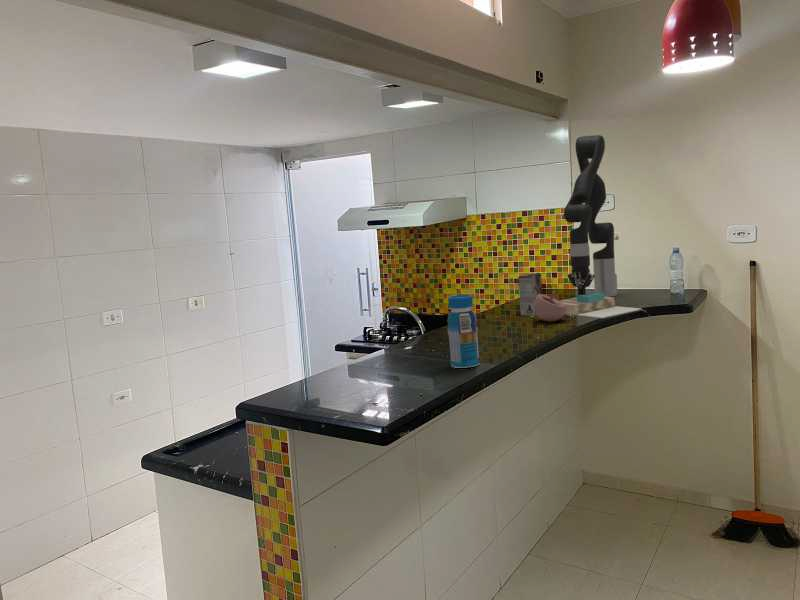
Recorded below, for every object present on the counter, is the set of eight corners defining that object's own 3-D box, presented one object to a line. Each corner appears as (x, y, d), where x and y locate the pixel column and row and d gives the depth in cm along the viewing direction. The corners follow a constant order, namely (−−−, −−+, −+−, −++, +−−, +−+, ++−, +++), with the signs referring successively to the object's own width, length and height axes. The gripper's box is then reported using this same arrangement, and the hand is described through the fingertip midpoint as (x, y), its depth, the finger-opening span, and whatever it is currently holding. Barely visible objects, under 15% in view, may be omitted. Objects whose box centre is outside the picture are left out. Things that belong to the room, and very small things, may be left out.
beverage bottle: (445, 369, 171) (439, 298, 169) (458, 361, 178) (452, 294, 176) (472, 370, 167) (467, 298, 164) (485, 363, 174) (480, 293, 172)
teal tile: (592, 298, 248) (592, 292, 248) (604, 299, 243) (604, 293, 243) (577, 302, 244) (576, 295, 243) (588, 303, 239) (588, 296, 238)
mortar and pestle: (566, 323, 221) (564, 292, 220) (532, 324, 225) (531, 294, 224) (568, 318, 233) (566, 288, 231) (536, 319, 237) (534, 289, 235)
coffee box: (528, 311, 255) (526, 273, 253) (543, 311, 251) (541, 273, 249) (520, 315, 247) (517, 276, 245) (535, 315, 244) (532, 275, 242)
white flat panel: (616, 307, 247) (616, 306, 247) (641, 309, 236) (641, 308, 236) (577, 315, 236) (577, 314, 236) (602, 318, 226) (602, 317, 226)
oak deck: (588, 304, 260) (587, 295, 259) (614, 307, 248) (614, 297, 247) (549, 312, 249) (549, 302, 248) (575, 315, 237) (575, 305, 236)
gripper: (599, 253, 241) (601, 297, 243) (574, 253, 252) (576, 295, 255) (585, 255, 237) (587, 299, 240) (560, 255, 249) (563, 297, 251)
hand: (581, 297), depth 247 cm, fingers closed
